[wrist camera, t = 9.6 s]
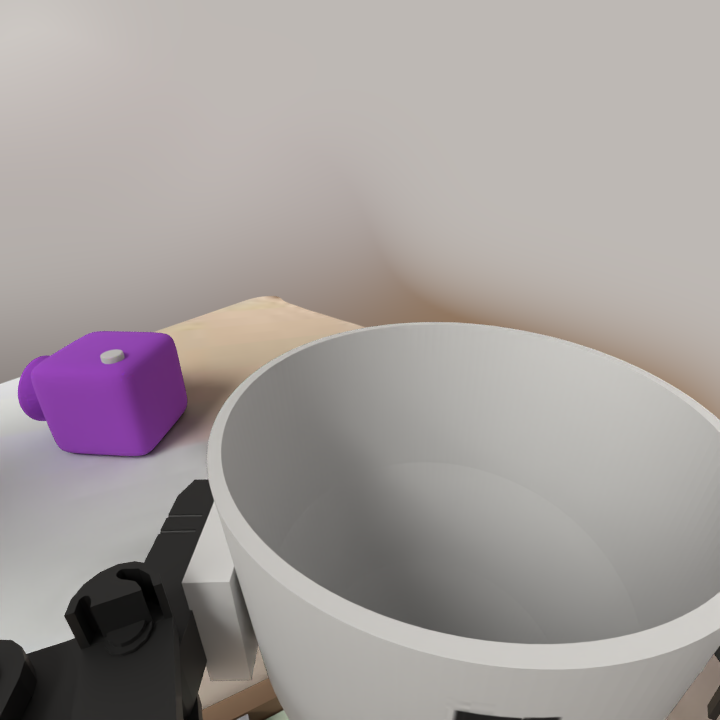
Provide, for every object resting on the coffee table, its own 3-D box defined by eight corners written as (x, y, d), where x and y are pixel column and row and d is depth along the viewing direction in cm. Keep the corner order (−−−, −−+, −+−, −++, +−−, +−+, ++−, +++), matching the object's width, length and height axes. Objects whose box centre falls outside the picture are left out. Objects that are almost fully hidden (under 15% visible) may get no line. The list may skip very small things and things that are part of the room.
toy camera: (70, 407, 48) (39, 323, 44) (196, 399, 49) (178, 316, 45) (10, 472, 39) (-38, 373, 34) (168, 461, 40) (142, 363, 35)
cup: (374, 1143, 7) (370, 958, 2) (238, 661, 13) (169, 368, 9) (671, 801, 10) (896, 466, 6) (449, 550, 17) (476, 300, 12)
